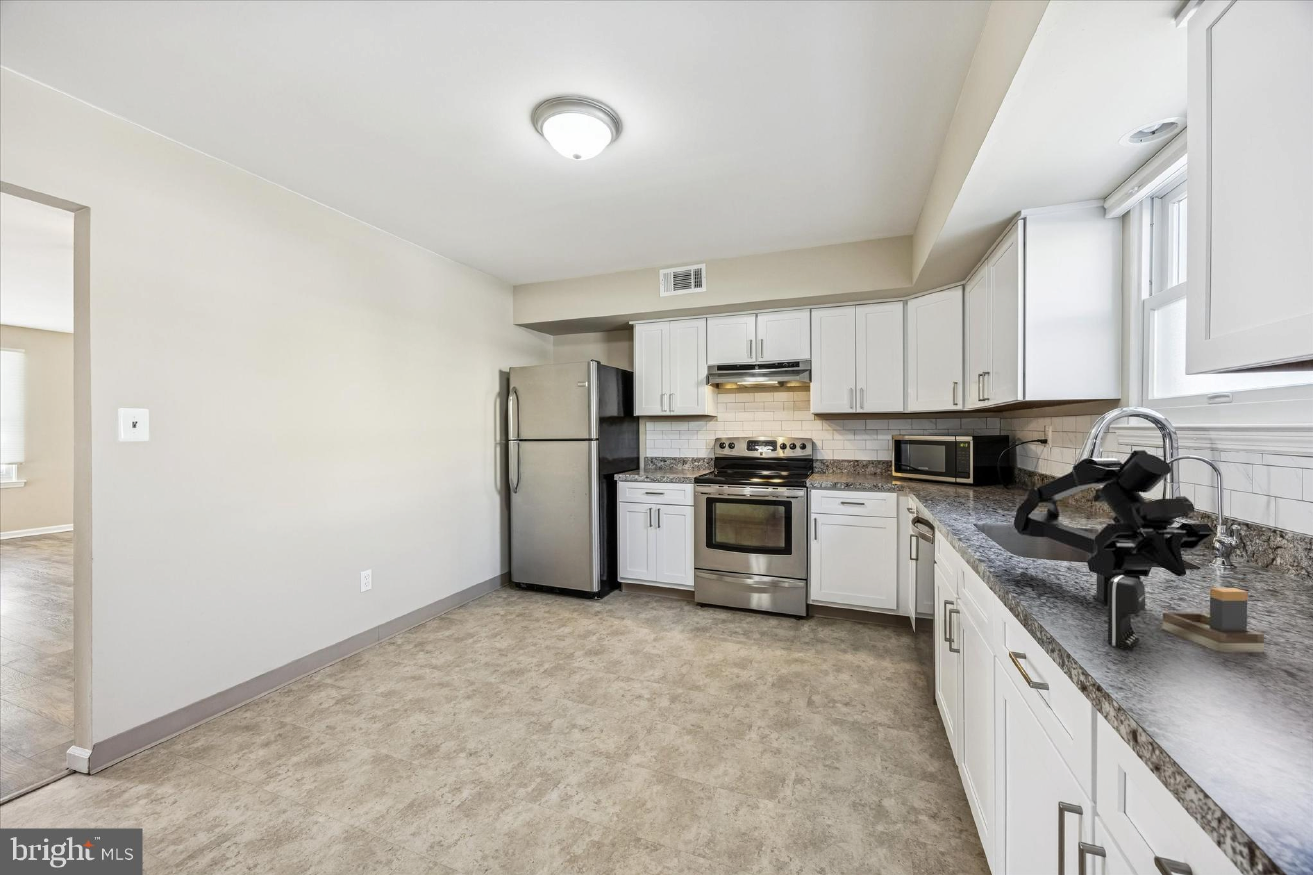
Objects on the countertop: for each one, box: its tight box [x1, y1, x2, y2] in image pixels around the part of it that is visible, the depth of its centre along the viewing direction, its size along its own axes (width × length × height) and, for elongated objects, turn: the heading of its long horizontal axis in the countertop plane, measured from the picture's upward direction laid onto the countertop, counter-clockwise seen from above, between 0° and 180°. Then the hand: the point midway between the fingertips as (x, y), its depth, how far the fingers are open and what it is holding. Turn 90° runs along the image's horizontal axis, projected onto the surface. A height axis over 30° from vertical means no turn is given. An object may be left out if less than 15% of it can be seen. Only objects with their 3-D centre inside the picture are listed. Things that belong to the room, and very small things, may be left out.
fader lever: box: [1209, 587, 1248, 632], centre depth 88 cm, size 2×4×8 cm, turn 89°
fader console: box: [1162, 611, 1265, 653], centre depth 91 cm, size 10×7×3 cm
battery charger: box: [1107, 575, 1146, 650], centre depth 89 cm, size 7×4×11 cm, turn 126°
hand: (1182, 575), depth 95 cm, fingers closed
